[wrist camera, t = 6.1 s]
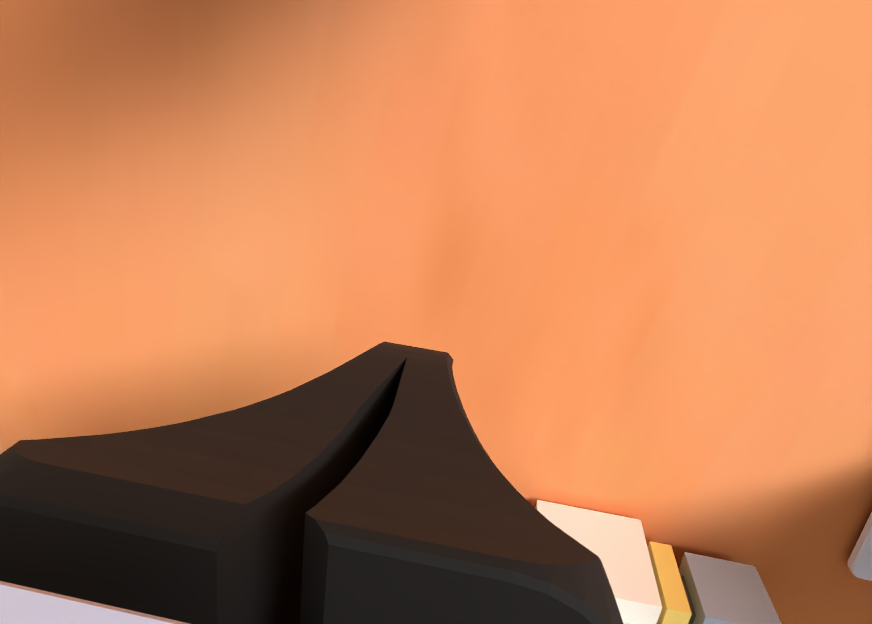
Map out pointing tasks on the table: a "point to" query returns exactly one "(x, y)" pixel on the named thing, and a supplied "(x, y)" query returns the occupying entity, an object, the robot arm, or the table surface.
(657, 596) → the sleeve
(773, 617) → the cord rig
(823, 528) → the table surface
